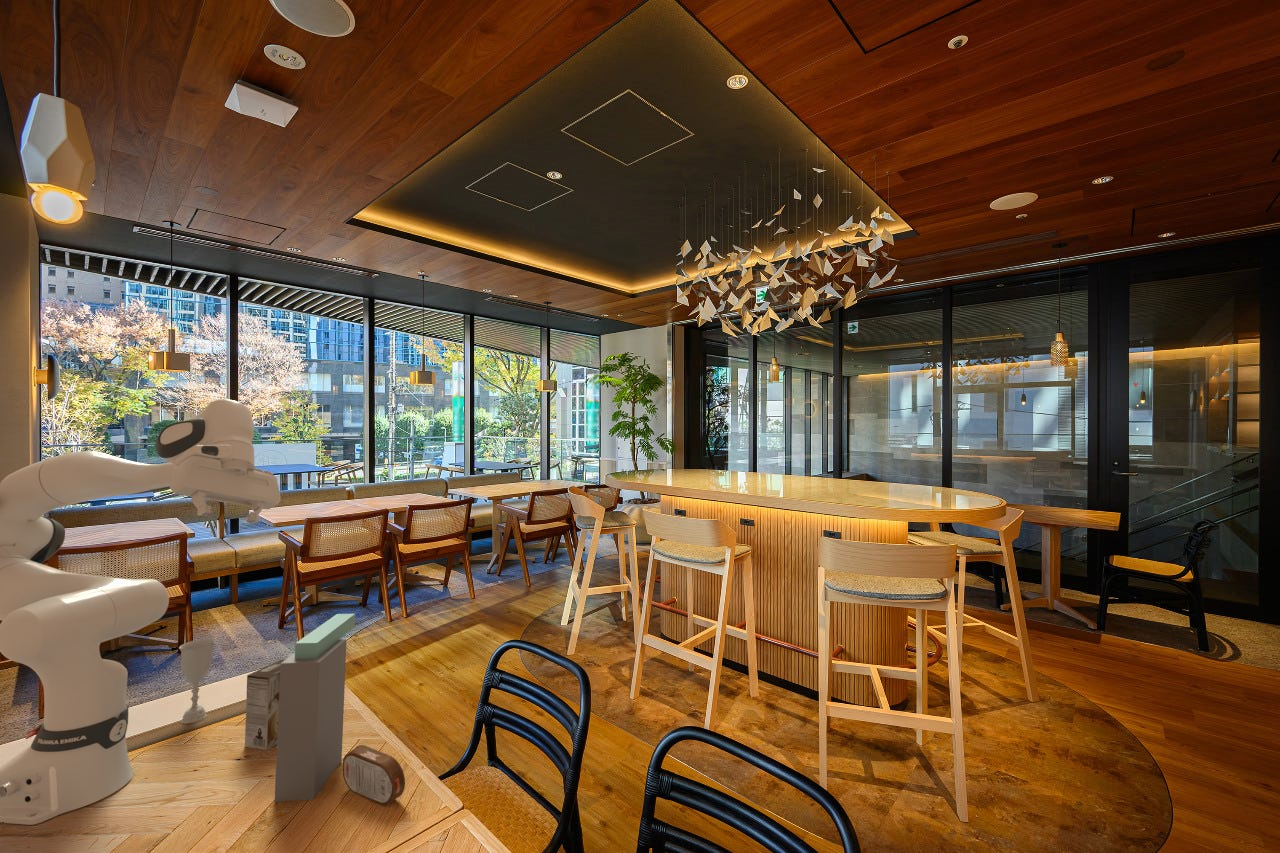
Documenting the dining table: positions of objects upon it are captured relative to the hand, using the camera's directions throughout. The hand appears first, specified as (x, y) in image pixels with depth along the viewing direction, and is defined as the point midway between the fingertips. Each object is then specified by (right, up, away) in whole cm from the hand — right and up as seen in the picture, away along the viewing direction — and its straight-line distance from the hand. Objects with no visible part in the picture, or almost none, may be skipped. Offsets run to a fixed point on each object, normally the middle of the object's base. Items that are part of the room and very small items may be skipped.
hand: (229, 518), depth 109 cm
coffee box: (+1, -53, +11) cm, 54 cm away
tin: (+34, -53, -8) cm, 63 cm away
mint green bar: (+19, -27, +2) cm, 33 cm away
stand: (+19, -53, -4) cm, 56 cm away
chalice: (-24, -53, +19) cm, 61 cm away
